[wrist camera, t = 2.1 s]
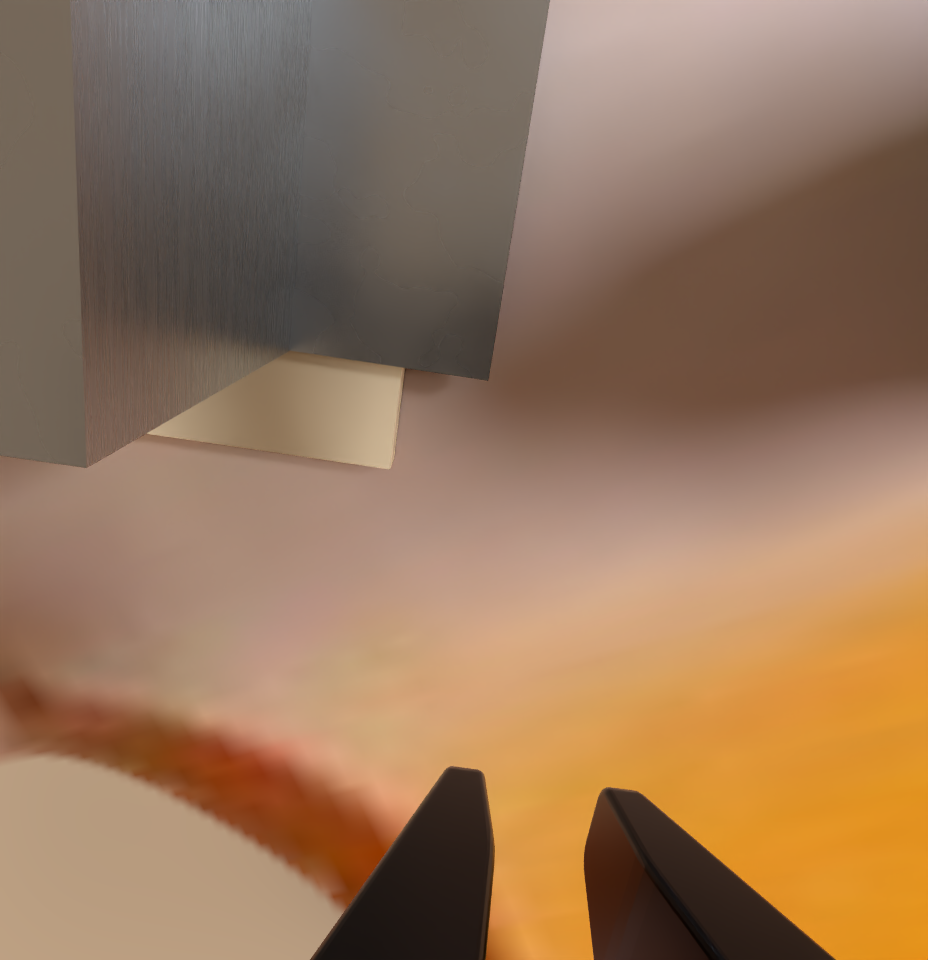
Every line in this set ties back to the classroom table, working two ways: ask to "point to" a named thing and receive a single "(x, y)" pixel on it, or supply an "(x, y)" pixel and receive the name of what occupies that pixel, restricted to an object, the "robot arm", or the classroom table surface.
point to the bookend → (247, 198)
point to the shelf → (303, 411)
